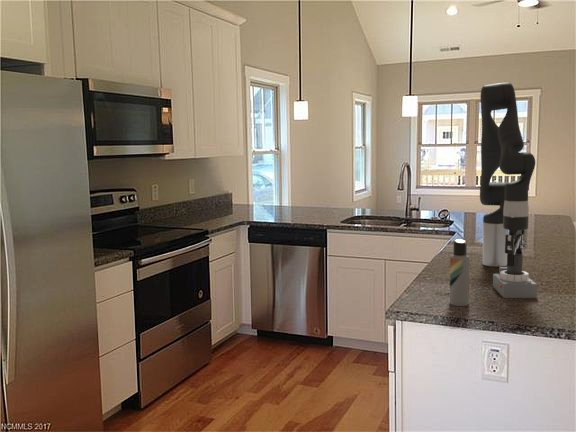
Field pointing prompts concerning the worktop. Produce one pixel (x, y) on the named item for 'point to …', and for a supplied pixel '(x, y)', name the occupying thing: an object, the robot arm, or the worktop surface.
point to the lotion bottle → (459, 274)
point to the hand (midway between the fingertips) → (514, 263)
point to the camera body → (514, 285)
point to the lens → (516, 265)
